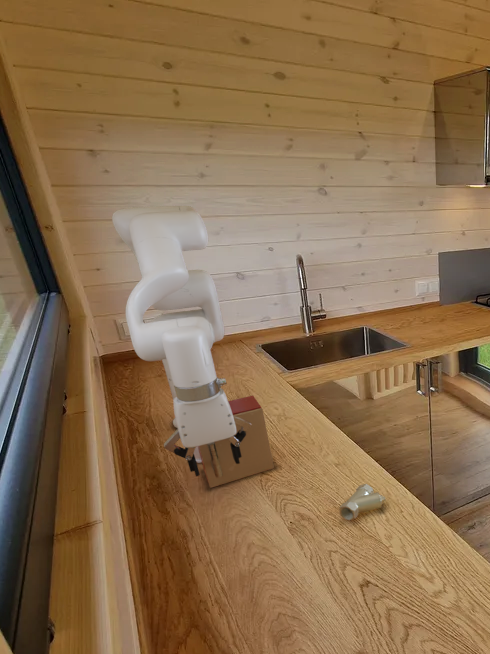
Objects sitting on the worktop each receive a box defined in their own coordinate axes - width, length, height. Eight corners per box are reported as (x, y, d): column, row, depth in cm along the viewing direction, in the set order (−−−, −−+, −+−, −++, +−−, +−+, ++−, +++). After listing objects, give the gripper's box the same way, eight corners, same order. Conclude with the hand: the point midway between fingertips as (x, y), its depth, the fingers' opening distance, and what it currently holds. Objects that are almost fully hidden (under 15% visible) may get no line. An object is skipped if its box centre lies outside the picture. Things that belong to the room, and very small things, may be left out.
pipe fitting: (388, 504, 104) (360, 496, 105) (388, 489, 102) (359, 481, 104) (369, 527, 97) (339, 518, 98) (369, 512, 95) (338, 503, 97)
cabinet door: (281, 479, 112) (269, 418, 106) (215, 501, 105) (198, 437, 98) (273, 466, 117) (261, 407, 111) (209, 486, 110) (193, 424, 104)
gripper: (240, 374, 103) (256, 447, 110) (145, 394, 94) (168, 472, 101) (248, 385, 97) (264, 461, 104) (147, 407, 88) (172, 489, 95)
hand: (217, 466), depth 102 cm, fingers open, 7 cm apart
